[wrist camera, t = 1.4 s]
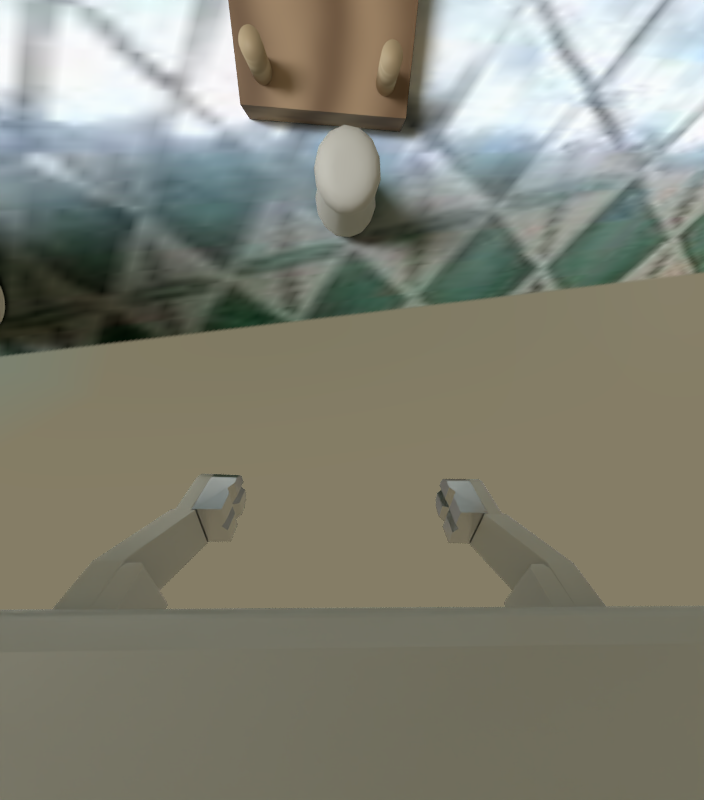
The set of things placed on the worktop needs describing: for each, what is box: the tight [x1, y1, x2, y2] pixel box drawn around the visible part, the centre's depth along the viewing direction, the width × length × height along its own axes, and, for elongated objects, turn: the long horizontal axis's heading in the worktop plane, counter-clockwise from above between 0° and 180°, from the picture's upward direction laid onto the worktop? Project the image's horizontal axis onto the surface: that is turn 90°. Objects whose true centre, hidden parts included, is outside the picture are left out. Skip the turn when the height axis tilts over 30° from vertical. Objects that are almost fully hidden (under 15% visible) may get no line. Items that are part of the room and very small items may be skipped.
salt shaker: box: [314, 125, 381, 237], centre depth 21 cm, size 6×6×13 cm
